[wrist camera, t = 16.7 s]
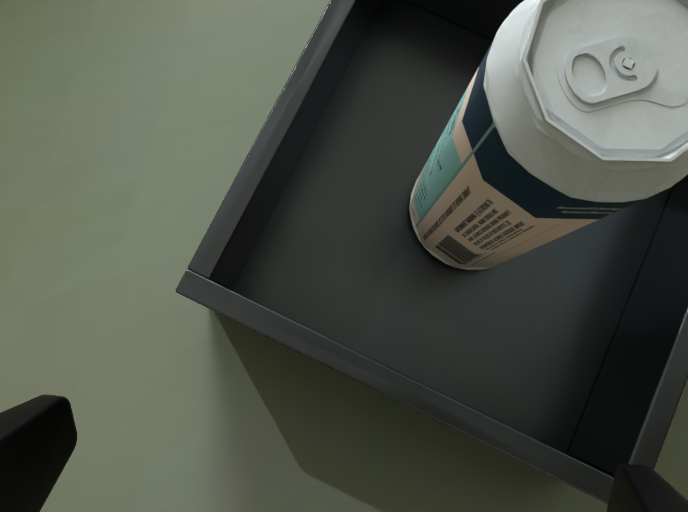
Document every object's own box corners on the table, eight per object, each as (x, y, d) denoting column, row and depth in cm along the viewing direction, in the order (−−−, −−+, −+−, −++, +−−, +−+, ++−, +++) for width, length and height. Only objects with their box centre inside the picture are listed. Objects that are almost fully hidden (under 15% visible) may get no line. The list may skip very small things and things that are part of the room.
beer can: (544, 251, 22) (800, 146, 10) (430, 287, 22) (554, 221, 10) (503, 140, 23) (698, -84, 11) (392, 173, 22) (464, -21, 10)
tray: (568, 478, 21) (636, 518, 17) (207, 301, 22) (174, 291, 17) (705, 132, 24) (799, 79, 19) (375, -20, 24) (386, -107, 20)
